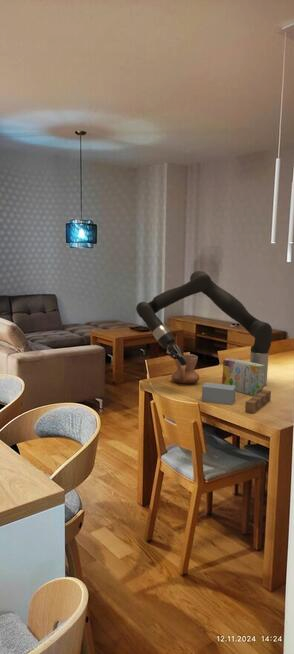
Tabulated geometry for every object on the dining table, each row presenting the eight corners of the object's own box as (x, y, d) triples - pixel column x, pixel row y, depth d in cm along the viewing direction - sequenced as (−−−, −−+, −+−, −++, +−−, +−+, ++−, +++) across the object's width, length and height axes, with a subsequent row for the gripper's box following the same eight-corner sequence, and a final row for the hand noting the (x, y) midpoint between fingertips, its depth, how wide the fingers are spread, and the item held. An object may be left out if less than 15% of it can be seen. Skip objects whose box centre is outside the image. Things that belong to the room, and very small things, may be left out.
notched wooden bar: (262, 399, 223) (263, 389, 222) (270, 400, 221) (270, 391, 220) (245, 412, 202) (245, 402, 202) (252, 413, 201) (253, 403, 200)
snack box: (263, 395, 230) (265, 364, 228) (256, 397, 226) (259, 366, 224) (227, 385, 245) (229, 357, 243) (220, 387, 241) (222, 358, 239)
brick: (205, 396, 224) (206, 382, 223) (235, 400, 220) (235, 385, 219) (201, 401, 217) (202, 386, 216) (232, 405, 212) (233, 390, 211)
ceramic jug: (175, 377, 259) (176, 351, 257) (202, 379, 255) (202, 353, 252) (167, 386, 242) (167, 358, 240) (195, 388, 238) (196, 361, 236)
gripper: (161, 332, 223) (183, 362, 218) (175, 329, 234) (196, 357, 229) (151, 342, 226) (173, 371, 222) (165, 339, 237) (186, 366, 233)
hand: (184, 364), depth 225 cm, fingers closed
